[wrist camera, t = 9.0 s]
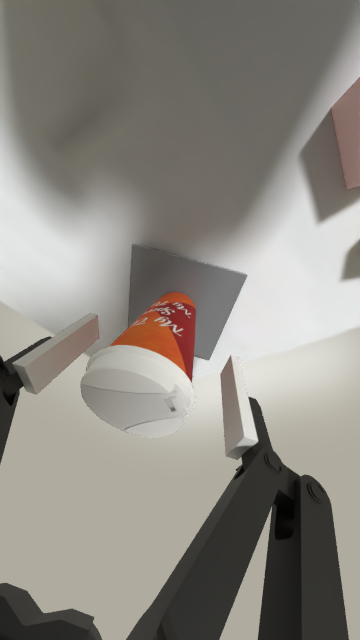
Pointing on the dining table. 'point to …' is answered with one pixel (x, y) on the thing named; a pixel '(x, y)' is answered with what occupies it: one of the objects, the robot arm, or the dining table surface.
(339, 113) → the rose brick
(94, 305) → the dining table surface
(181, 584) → the robot arm
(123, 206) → the dining table surface
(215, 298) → the slate mat
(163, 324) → the paper cup
